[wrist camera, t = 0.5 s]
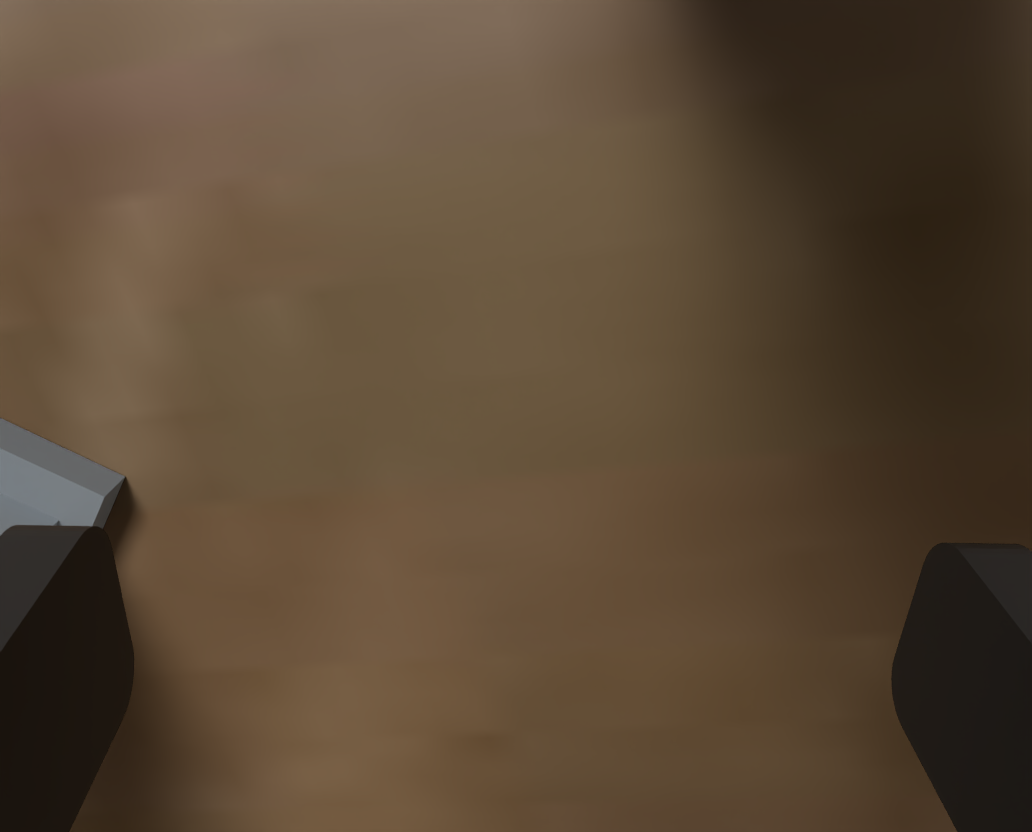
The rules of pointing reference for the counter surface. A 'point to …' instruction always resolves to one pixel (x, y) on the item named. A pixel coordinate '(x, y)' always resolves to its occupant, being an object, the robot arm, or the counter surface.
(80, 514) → the grey rectangular pillar
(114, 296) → the counter surface
